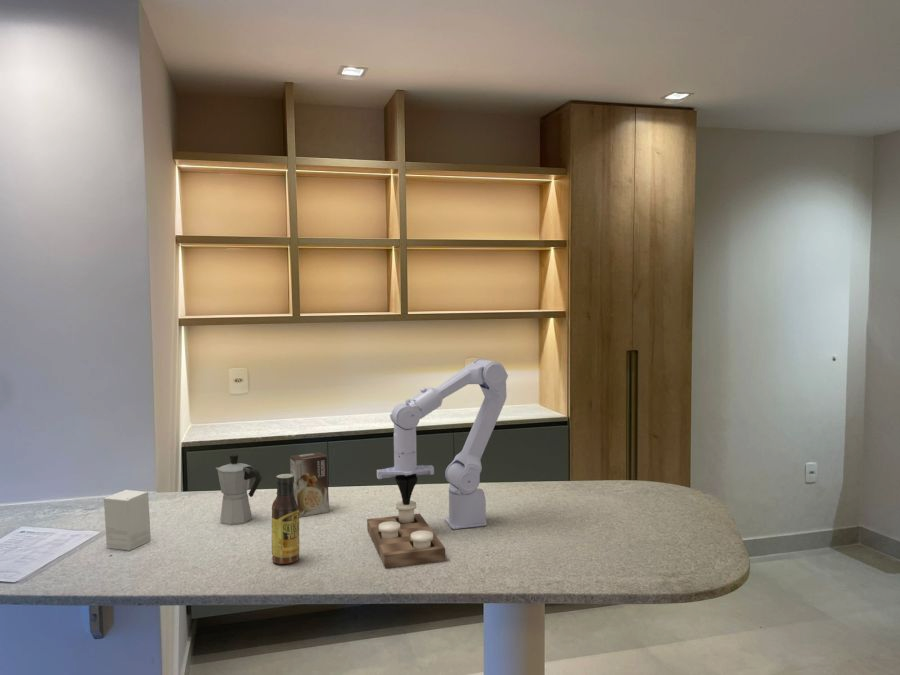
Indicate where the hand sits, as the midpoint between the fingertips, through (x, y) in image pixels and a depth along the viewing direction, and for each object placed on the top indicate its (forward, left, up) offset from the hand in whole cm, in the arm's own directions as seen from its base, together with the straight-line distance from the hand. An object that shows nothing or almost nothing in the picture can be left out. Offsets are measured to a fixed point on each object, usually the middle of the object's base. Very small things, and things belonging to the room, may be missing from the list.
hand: (406, 503), depth 176 cm
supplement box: (+67, -13, -8) cm, 69 cm away
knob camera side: (0, +17, -7) cm, 19 cm away
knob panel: (+2, +8, -7) cm, 11 cm away
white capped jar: (0, 0, -5) cm, 5 cm away
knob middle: (+6, +8, -7) cm, 13 cm away
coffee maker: (+41, -23, -8) cm, 48 cm away
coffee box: (+22, -24, -8) cm, 33 cm away
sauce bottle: (+30, +9, -8) cm, 33 cm away
